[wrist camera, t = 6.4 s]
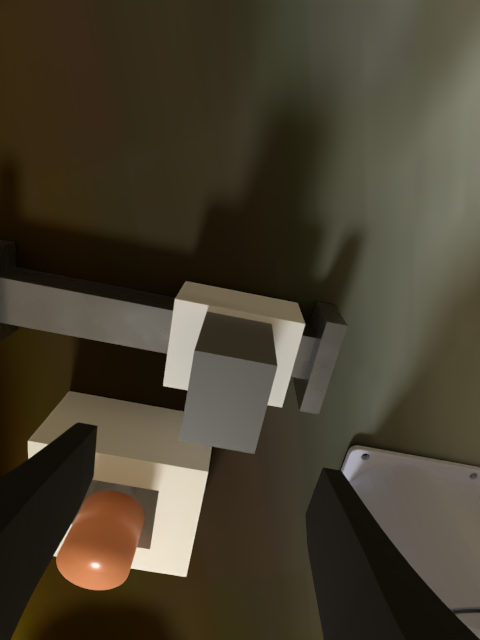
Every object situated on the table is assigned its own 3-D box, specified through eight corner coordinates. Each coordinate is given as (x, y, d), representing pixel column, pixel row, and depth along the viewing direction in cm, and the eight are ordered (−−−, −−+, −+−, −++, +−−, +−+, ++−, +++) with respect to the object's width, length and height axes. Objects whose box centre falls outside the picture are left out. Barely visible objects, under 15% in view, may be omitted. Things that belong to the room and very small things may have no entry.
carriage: (297, 302, 20) (320, 366, 13) (277, 377, 21) (289, 466, 15) (185, 280, 19) (152, 334, 13) (174, 358, 21) (140, 439, 15)
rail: (334, 304, 20) (347, 325, 17) (310, 383, 22) (318, 414, 19) (-4, 238, 19) (-48, 249, 16) (0, 326, 21) (-39, 349, 18)
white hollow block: (216, 417, 23) (208, 471, 19) (196, 511, 26) (186, 577, 22) (69, 391, 22) (27, 440, 18) (66, 489, 25) (29, 552, 21)
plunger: (157, 466, 21) (132, 546, 17) (151, 509, 23) (126, 595, 18) (98, 456, 21) (56, 534, 17) (95, 500, 22) (55, 584, 18)
